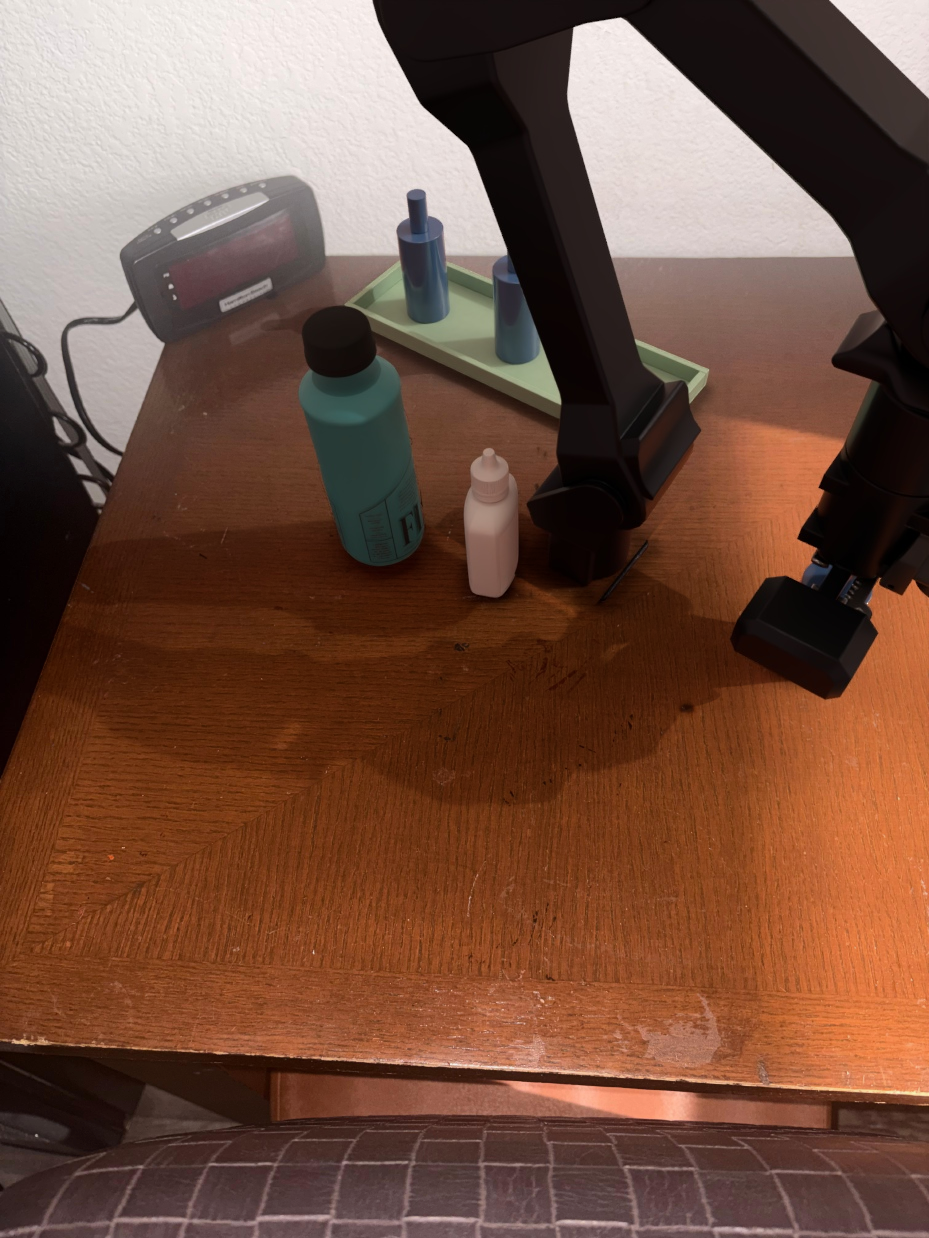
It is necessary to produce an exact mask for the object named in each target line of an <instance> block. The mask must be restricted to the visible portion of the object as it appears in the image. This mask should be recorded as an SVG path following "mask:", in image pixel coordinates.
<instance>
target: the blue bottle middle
mask: <svg viewBox="0 0 929 1238" xmlns="http://www.w3.org/2000/svg"><path fill="white" fill-rule="evenodd" d="M491 277H492V279H491V280H492V281H493V313H494V345H495V353H496V355H497V357H498V358H499V359H500V360H502V361H504V362H506V363H509V364H524V363H528V362H530V361H532V360H534V359H535V358H536V357H537V356H538V354H539V353H540V345H541V341H540V338H539V336H538V333H537V330H536V328H535V325H534V322H533V319H532V317H531V314H530V311H529V308H528V306H527V303H526V300H525V297H524V295H523V292H522V289H521V286H520V284H519V281H518V278H517V276H516V273H515V270H514V267H513V265H512V262H511V259H510V256H509V254H508V251H507V250H506V254H505V255H503V256H501V257H499V258H498V259H497V260H495V261H494V263H493V265H492V268H491Z"/></svg>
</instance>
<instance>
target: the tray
mask: <svg viewBox="0 0 929 1238" xmlns="http://www.w3.org/2000/svg"><path fill="white" fill-rule="evenodd" d="M446 263H447V276H448V288H449V300H450V311H449V314H448V315H447V316H446V317H445V318H444V319H442V320H440V321H438V322H435V323H429V324H424V323H418V322H415V321H413V320H412V319H411V318H410V317H409V316H408V314H407V310H406V302H405V294H404V287H403V279H402V272H401V264H400V259H399V260H397V262H395V263H394V264H392V265H391V266H390V267H389V268H387V270H385V271H384V272H382V273H381V274H380V275H379V276H378V277H376V278H375V279H374V280H373V281H371V282H370V283H368V285H366V286H365V287H364V288H363V289H361V290H360V291H359V292H358V293H357V294H355V295H354V296H353V297H351V298H350V299H349V300H348V301H346V302H345V303H344V304H343V306H349V307H353V308H356V309H358V310H360V311H361V312H363V313H364V314H365V315H366V317H367V318H368V320H369V323H370V326H371V330H372V333H376V334H377V335H380V336H382V337H384V338H386V339H388V340H390V341H393V342H395V343H396V344H399V345H401V346H403V347H405V348H407V349H409V350H412V351H414V352H416V353H418V354H420V355H422V356H424V357H427V358H429V359H431V360H433V361H435V362H437V363H439V364H441V365H444V366H445V367H448V368H450V369H452V370H453V371H457V372H458V373H461V374H463V375H464V376H467V377H468V378H471V379H473V380H475V381H477V382H479V383H482V384H484V385H486V386H488V387H490V388H492V389H495V390H496V391H499V392H501V393H503V394H505V395H507V396H509V397H511V398H514V399H516V400H518V401H520V402H522V403H524V404H525V405H528V406H531V407H533V408H534V409H537V410H539V411H541V412H543V413H544V414H548V415H549V416H552V417H554V418H555V419H558V420H559V418H560V409H561V398H560V394H559V390H558V388H557V385H556V382H555V380H554V377H553V374H552V371H551V369H550V366H549V363H548V360H547V358H546V355H545V352H544V349H543V347H542V344H541V345H540V353H539V354H538V356H537V357H536V358H535V359H534V360H532V361H530V362H528V363H524V364H509V363H506V362H504V361H502V360H500V359H499V358H498V357H497V355H496V353H495V345H494V313H493V281H492V279H491V278H489V277H486V276H484V275H481V274H479V273H476V272H474V271H471V270H470V269H467V268H464V267H462V266H459V265H457V264H454V263H452V262H450V261H447V260H446ZM634 339H635V342H636V346H637V349H638V353H639V356H640V359H641V361H642V363H643V365H644V366H645V367H646V368H648V369H649V370H650V371H652V372H653V373H654V374H655V375H657V376H658V377H659V378H660V379H662V380H663V381H664V382H665V383H667V382H672V381H678V380H683V381H685V383H686V384H687V386H688V390H689V404H691V403H692V402H693V400H694V399H695V398H696V397H697V396H698V395H699V394H700V392H701V391H702V390H703V388H705V386H706V385H707V382H708V377H709V373H710V369H709V368H707V367H704V366H702V365H699V364H697V363H695V362H693V361H689V360H687V359H685V358H682V357H680V356H679V355H675V354H673V353H670V352H668V351H666V350H663V349H660V348H658V347H656V346H653V345H651V344H649V343H646V342H643V341H641V340H639V339H636V338H634Z"/></svg>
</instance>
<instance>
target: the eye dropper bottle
mask: <svg viewBox="0 0 929 1238" xmlns="http://www.w3.org/2000/svg"><path fill="white" fill-rule="evenodd" d="M469 472H470V485H471V486H470V487H469V489H468V491H467V494H466V496H465V500H464V506H463V526H464V527H463V528H464V538H465V541H464V542H465V552H466V562H467V573H468V585H469V588H470V591H471V592H472V593H473V594H474V595H479V596H482V597H489V598H500V597H502V596H503V595H504V594H505V592H506V591H507V590H508V589H509V587H510V586H511V584H512V583H513V581H514V578H515V577H516V574H515V573H516V570H517V567H518V563H519V551H520V549H519V490H518V484H517V481H516V479H515V477H514V476H513V474H511V473H510V469H509V464H508V461H507V460H505V458H503V457H502V456H500V455H497V454H496V453H495V450H494V449H493V448H491V447H487V448H485V449H483V451H482V454H481V456H478V457H477V458H476V459H474V460H473V462H472V463H471V466H470V471H469Z"/></svg>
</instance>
